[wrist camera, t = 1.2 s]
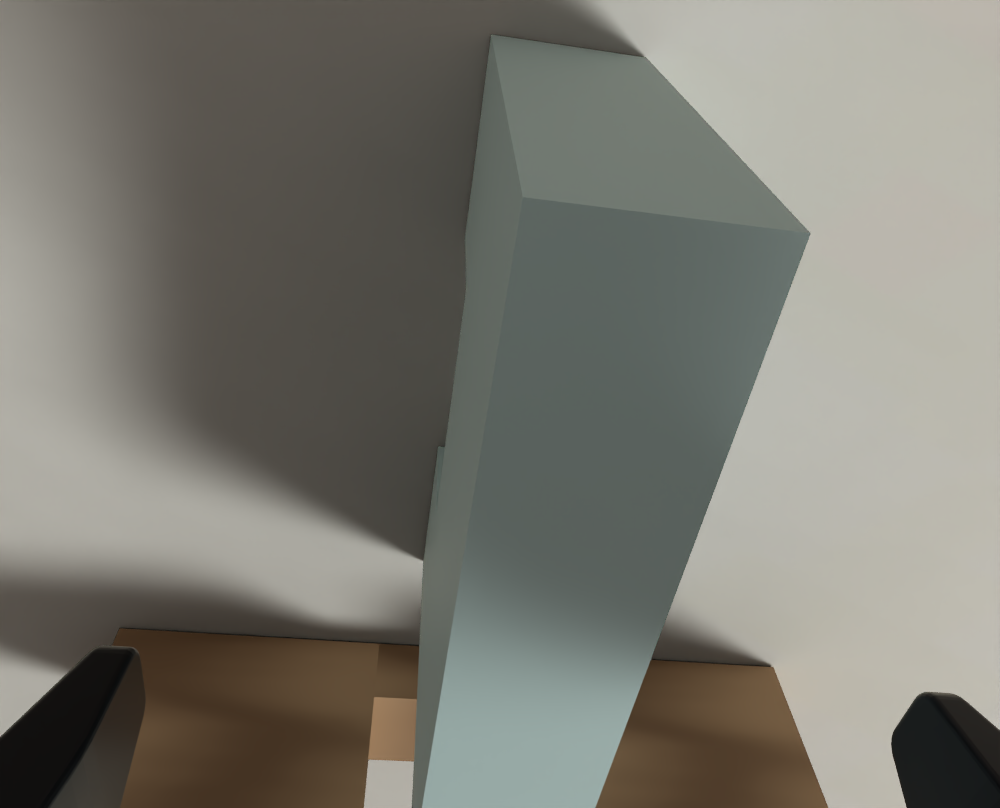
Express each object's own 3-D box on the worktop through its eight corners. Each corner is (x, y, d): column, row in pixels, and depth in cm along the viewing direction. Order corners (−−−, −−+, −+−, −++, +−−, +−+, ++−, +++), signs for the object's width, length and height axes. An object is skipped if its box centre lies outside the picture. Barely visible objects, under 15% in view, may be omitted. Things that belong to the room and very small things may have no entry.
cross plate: (423, 561, 18) (408, 891, 12) (490, 34, 12) (522, 197, 6) (529, 569, 19) (561, 895, 13) (646, 58, 13) (810, 232, 7)
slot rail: (129, 693, 20) (56, 882, 17) (119, 628, 19) (37, 817, 15) (744, 724, 22) (803, 900, 18) (773, 667, 21) (842, 844, 17)
